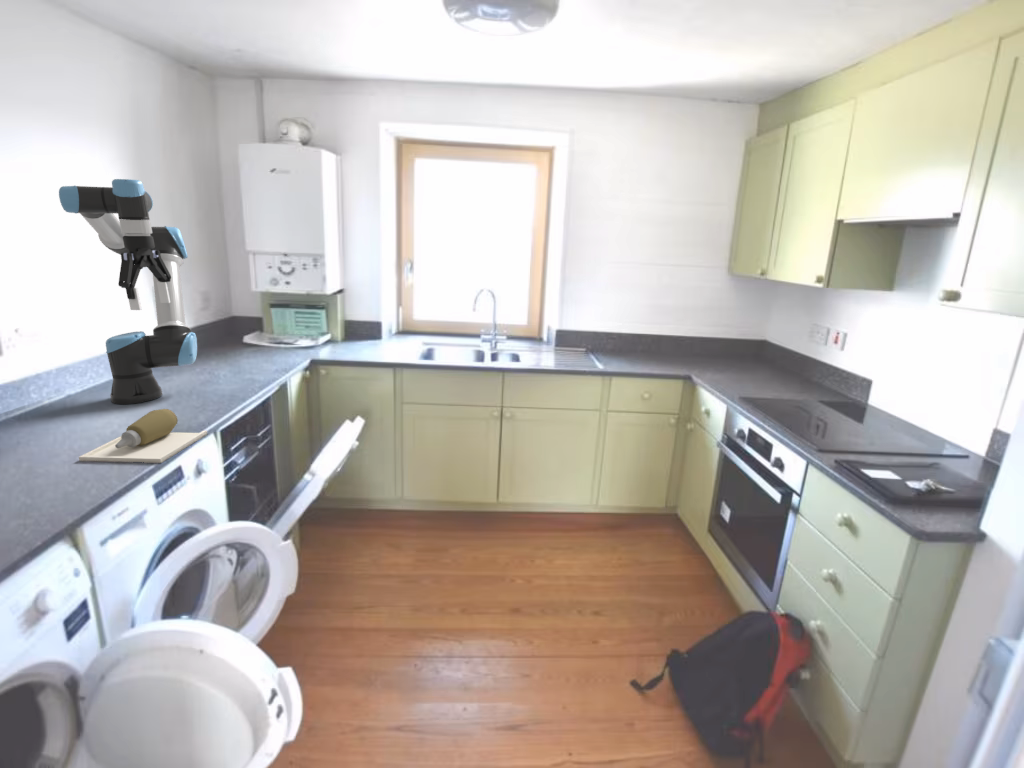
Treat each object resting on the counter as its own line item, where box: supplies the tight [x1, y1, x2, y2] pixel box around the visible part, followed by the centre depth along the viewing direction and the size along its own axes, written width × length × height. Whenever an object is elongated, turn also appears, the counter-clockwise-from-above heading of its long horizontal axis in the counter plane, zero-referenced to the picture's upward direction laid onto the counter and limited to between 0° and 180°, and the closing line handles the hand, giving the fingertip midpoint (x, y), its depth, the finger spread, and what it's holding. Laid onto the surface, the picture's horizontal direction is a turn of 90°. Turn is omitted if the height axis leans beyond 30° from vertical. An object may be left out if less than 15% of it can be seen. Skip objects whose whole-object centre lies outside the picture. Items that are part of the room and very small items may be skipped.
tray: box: [78, 430, 208, 464], centre depth 145 cm, size 20×22×1 cm
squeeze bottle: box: [115, 408, 179, 448], centre depth 147 cm, size 8×8×18 cm
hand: (151, 306), depth 161 cm, fingers open, 13 cm apart
